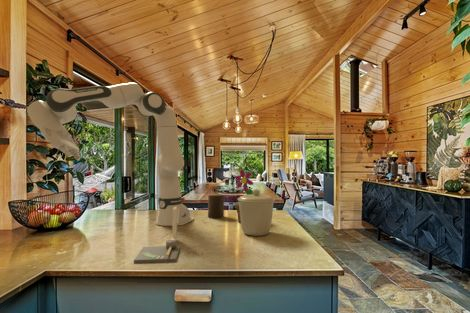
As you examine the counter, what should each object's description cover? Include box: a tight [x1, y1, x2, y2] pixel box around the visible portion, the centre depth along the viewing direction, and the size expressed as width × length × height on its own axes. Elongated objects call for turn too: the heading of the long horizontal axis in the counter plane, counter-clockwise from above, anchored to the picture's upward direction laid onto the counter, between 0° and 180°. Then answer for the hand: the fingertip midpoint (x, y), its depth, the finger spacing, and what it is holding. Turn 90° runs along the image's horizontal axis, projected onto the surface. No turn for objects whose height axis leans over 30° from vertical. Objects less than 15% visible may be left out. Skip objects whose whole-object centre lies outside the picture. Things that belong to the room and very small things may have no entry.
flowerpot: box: [234, 169, 254, 224], centre depth 155 cm, size 14×14×30 cm
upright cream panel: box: [165, 206, 178, 257], centre depth 108 cm, size 26×4×13 cm, turn 6°
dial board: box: [133, 245, 181, 264], centre depth 100 cm, size 14×14×1 cm
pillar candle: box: [207, 193, 225, 219], centre depth 168 cm, size 10×10×15 cm
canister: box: [236, 188, 276, 237], centre depth 131 cm, size 18×18×21 cm
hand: (74, 157), depth 121 cm, fingers open, 8 cm apart
